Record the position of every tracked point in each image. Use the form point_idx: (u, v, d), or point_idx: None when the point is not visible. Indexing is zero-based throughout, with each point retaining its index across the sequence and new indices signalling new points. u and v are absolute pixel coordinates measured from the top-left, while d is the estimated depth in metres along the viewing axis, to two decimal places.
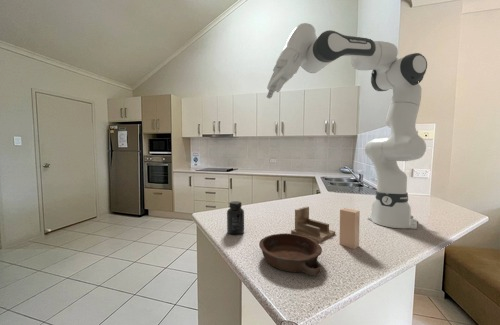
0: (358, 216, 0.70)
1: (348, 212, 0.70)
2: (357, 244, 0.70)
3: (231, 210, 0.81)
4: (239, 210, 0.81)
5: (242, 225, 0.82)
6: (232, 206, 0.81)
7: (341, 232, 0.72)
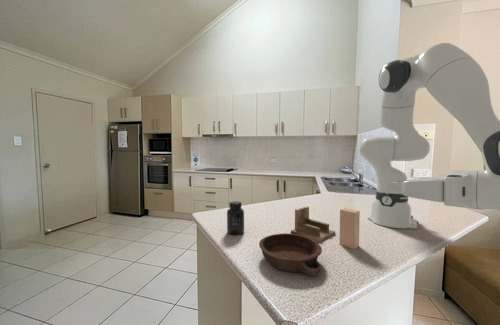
0: (357, 216, 0.70)
1: (348, 212, 0.70)
2: (357, 244, 0.70)
3: (231, 210, 0.81)
4: (239, 210, 0.81)
5: (242, 225, 0.82)
6: (232, 206, 0.81)
7: (341, 232, 0.72)
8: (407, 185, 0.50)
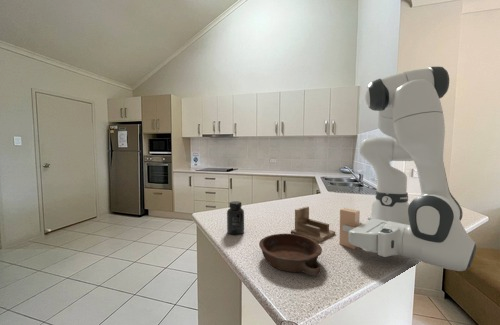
0: (358, 216, 0.70)
1: (348, 212, 0.70)
2: None
3: (231, 210, 0.81)
4: (239, 210, 0.81)
5: (242, 225, 0.82)
6: (232, 206, 0.81)
7: (341, 232, 0.72)
8: (351, 235, 0.61)
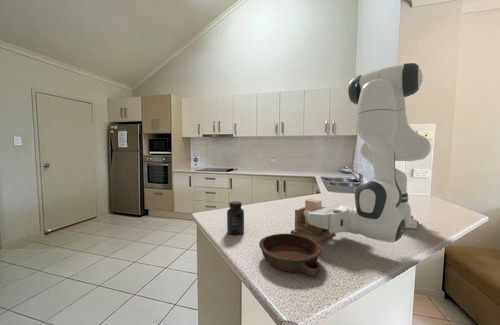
0: (319, 205, 0.80)
1: (311, 202, 0.80)
2: None
3: (231, 210, 0.81)
4: (239, 210, 0.81)
5: (242, 225, 0.82)
6: (232, 206, 0.81)
7: (306, 219, 0.82)
8: (309, 216, 0.71)
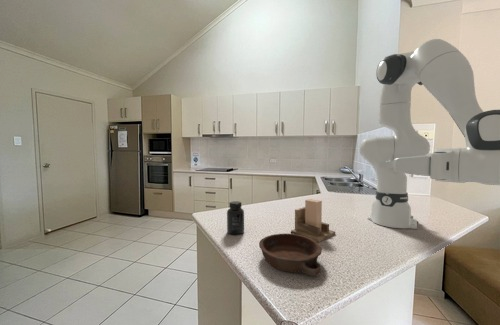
0: (319, 205, 0.80)
1: (311, 202, 0.80)
2: None
3: (231, 210, 0.81)
4: (239, 210, 0.81)
5: (242, 225, 0.82)
6: (232, 206, 0.81)
7: (306, 219, 0.82)
8: (398, 162, 0.55)
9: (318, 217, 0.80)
